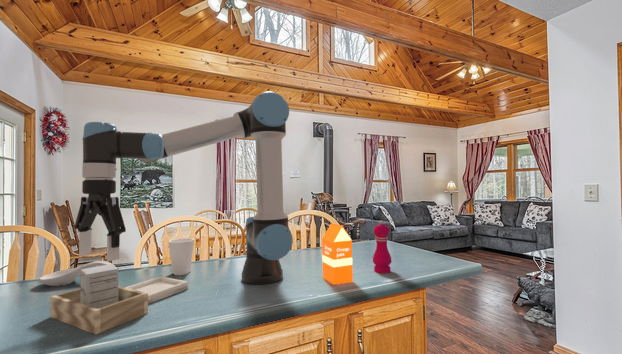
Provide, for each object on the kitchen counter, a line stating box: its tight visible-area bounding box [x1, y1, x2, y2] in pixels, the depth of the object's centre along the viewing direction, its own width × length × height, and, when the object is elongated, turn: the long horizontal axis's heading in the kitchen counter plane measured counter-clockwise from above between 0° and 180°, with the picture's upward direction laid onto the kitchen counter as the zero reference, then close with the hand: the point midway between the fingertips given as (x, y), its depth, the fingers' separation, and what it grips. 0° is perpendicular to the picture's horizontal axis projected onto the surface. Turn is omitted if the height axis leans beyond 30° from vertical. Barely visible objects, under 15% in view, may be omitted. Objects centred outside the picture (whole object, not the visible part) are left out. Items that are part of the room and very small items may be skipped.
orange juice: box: [321, 222, 354, 286], centre depth 109 cm, size 8×9×20 cm
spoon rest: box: [38, 260, 116, 287], centre depth 111 cm, size 24×12×7 cm, turn 108°
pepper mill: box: [372, 220, 393, 274], centre depth 118 cm, size 7×7×20 cm
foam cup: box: [168, 237, 195, 276], centre depth 120 cm, size 10×9×13 cm
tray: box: [125, 275, 189, 305], centre depth 98 cm, size 14×14×2 cm
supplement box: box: [80, 264, 119, 309], centre depth 82 cm, size 7×7×13 cm
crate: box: [49, 285, 149, 335], centre depth 82 cm, size 22×13×6 cm, turn 62°
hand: (98, 257), depth 82 cm, fingers open, 13 cm apart
